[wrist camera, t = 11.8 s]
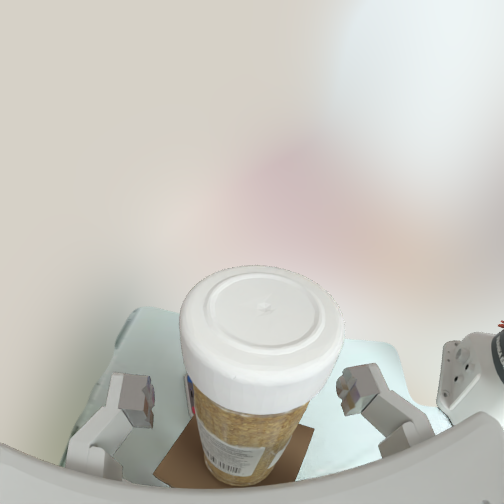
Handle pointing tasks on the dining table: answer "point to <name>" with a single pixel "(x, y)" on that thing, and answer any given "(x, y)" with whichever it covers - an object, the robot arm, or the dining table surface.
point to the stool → (199, 477)
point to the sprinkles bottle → (255, 363)
